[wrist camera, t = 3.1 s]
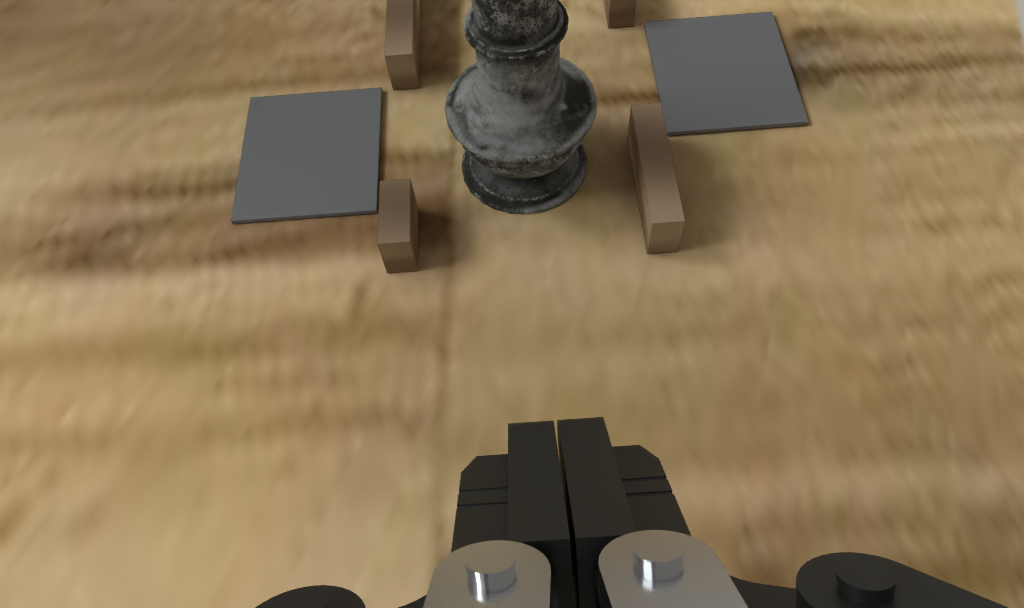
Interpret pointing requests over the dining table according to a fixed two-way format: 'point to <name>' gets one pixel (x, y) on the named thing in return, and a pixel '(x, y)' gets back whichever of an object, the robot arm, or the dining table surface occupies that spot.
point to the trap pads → (357, 113)
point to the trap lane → (644, 138)
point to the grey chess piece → (520, 107)
